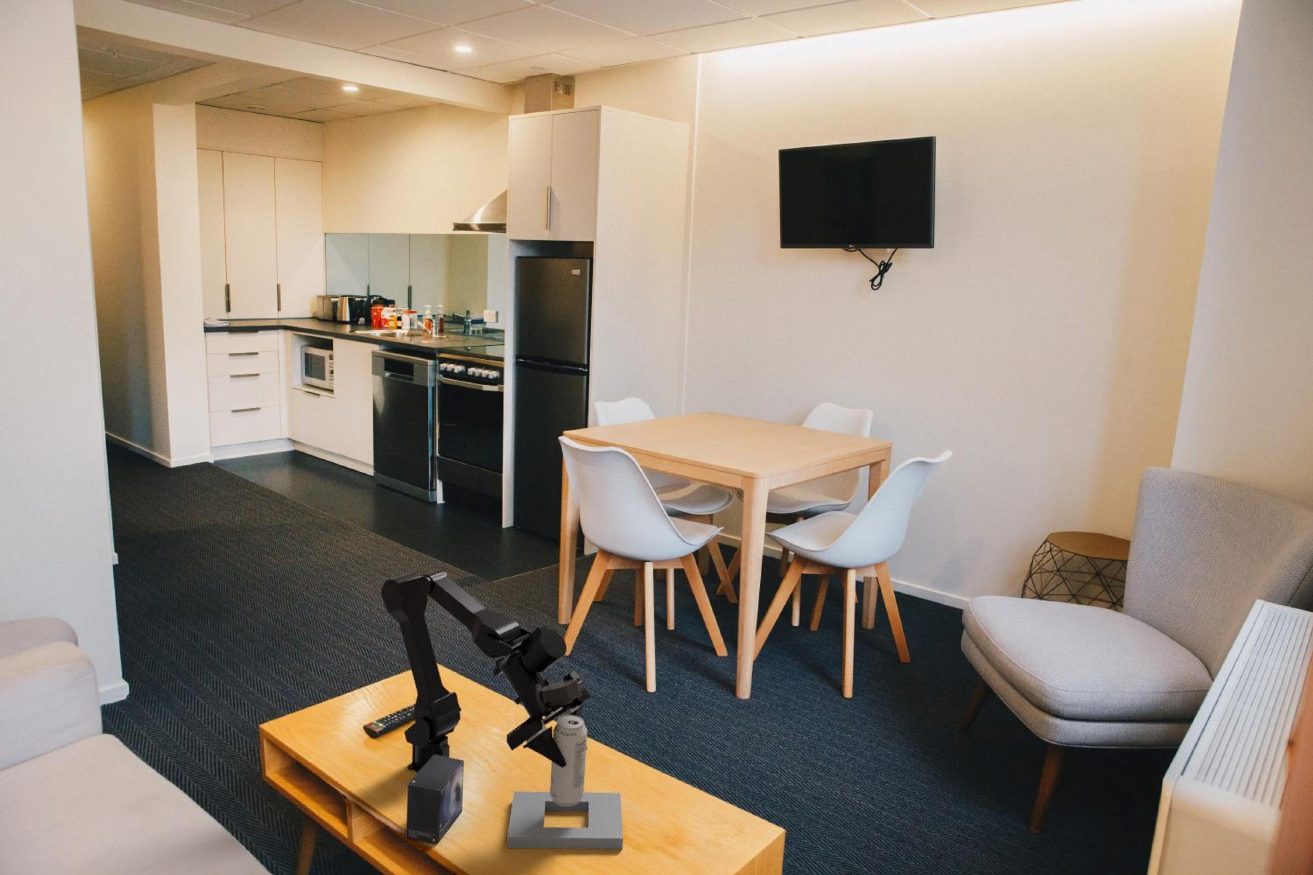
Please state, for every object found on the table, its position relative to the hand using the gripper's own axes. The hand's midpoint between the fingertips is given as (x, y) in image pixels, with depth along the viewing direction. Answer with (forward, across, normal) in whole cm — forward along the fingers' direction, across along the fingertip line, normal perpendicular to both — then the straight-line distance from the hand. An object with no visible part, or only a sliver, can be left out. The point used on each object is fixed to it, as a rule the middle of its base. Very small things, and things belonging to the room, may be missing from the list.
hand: (575, 758), depth 156 cm
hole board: (+9, 0, +10) cm, 13 cm away
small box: (-4, -14, +24) cm, 28 cm away
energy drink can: (+5, 0, +7) cm, 9 cm away
